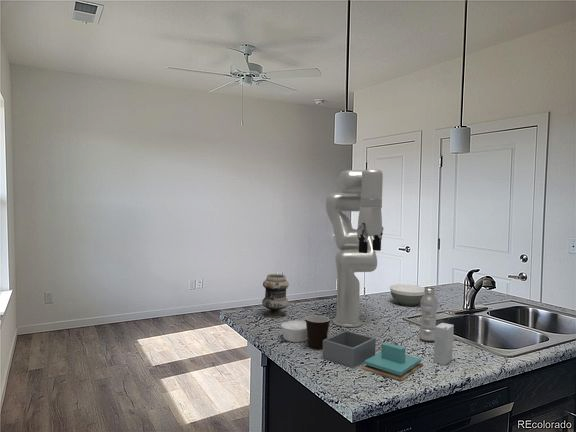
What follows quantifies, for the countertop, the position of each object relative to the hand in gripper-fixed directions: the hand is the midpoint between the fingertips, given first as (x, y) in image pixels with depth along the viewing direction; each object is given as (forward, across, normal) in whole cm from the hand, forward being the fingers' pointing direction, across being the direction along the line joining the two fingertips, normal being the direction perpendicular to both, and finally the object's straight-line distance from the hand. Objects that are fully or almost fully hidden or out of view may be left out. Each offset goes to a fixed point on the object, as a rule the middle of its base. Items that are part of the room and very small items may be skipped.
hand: (370, 251), depth 149 cm
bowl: (+35, -69, -16) cm, 79 cm away
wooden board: (+34, +12, +16) cm, 40 cm away
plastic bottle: (+34, -21, +14) cm, 43 cm away
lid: (+33, +12, +16) cm, 38 cm away
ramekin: (+35, +12, -24) cm, 44 cm away
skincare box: (+34, -4, +26) cm, 43 cm away
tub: (+34, +14, +1) cm, 37 cm away
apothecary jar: (+34, -6, -51) cm, 62 cm away
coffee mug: (+34, +12, -13) cm, 39 cm away
